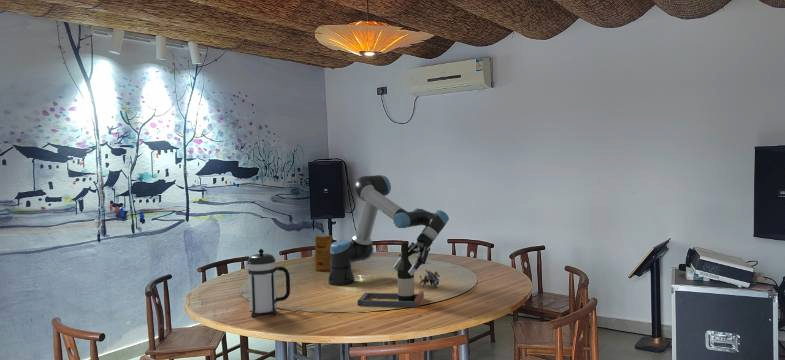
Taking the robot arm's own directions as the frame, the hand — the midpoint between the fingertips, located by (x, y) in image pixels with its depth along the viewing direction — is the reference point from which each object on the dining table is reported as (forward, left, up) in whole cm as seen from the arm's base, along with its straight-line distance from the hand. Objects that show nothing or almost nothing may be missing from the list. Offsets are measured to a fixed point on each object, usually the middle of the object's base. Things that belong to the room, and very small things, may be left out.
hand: (402, 271), depth 256 cm
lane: (-6, +1, -15) cm, 17 cm away
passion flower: (+9, +32, -16) cm, 37 cm away
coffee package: (-65, +74, -16) cm, 100 cm away
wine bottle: (+1, +1, -16) cm, 16 cm away
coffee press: (-61, -22, -16) cm, 67 cm away
